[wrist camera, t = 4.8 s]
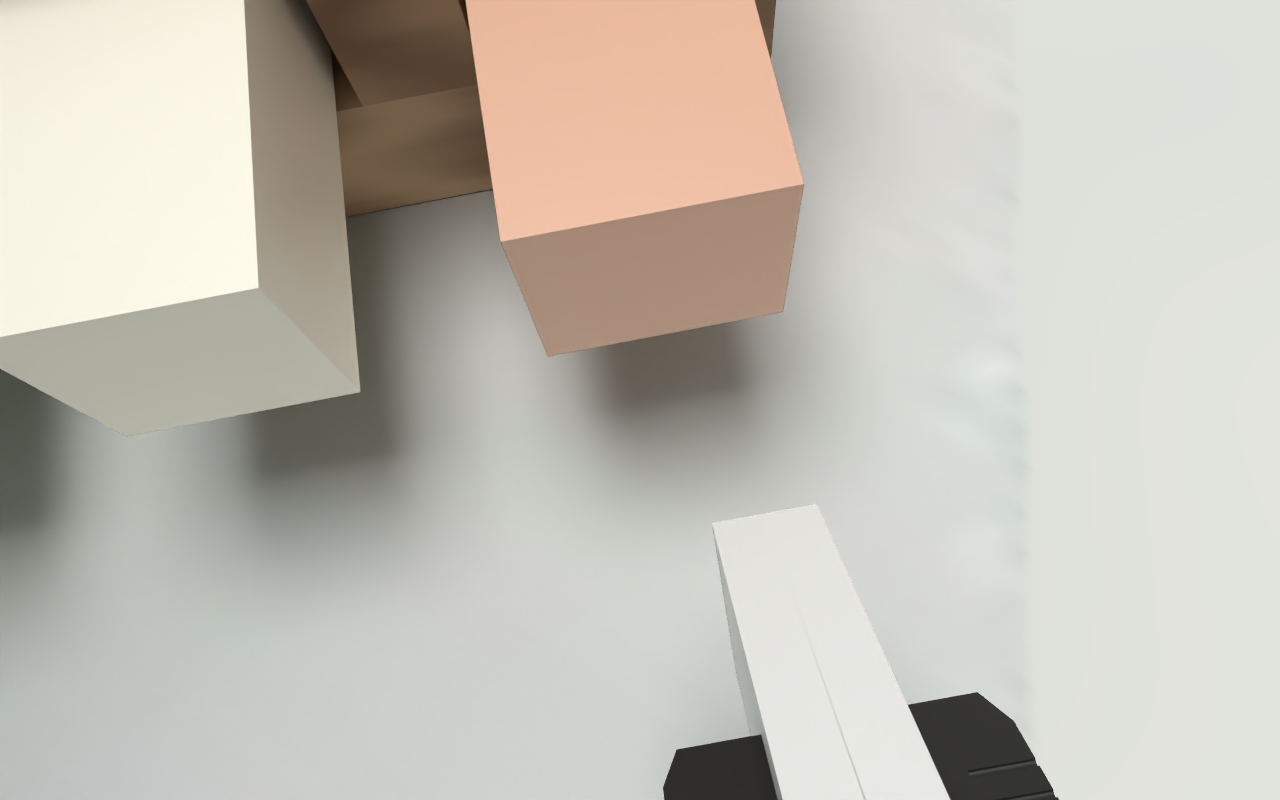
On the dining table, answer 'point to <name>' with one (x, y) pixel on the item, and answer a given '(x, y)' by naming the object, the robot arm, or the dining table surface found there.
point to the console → (412, 99)
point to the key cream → (172, 209)
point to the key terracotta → (636, 164)
